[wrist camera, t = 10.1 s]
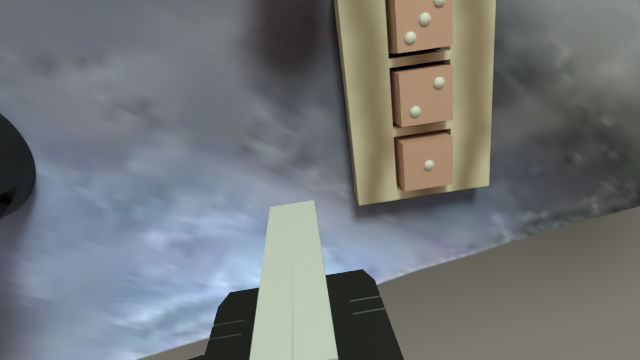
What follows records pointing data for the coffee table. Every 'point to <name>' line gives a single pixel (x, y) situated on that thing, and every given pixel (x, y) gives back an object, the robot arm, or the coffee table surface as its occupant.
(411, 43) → the tile three pips
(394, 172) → the board
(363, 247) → the coffee table surface
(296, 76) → the coffee table surface
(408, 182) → the tile one pip
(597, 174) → the coffee table surface
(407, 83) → the tile two pips
